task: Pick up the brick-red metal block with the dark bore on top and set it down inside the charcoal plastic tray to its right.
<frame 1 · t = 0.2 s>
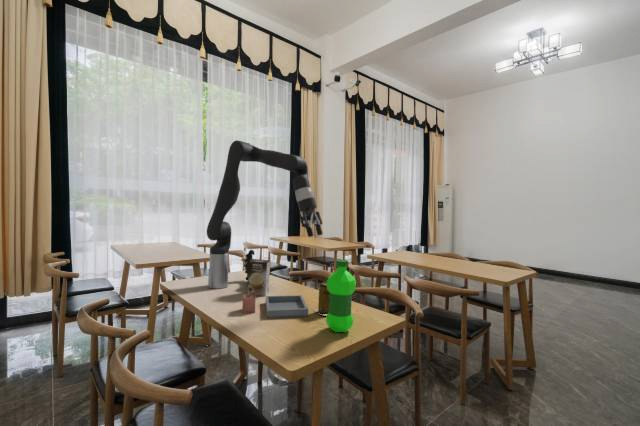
hand: (315, 235, 131), 31 cm above the table, tool tilted 20°, fingers open, 8 cm apart
coffee box: (258, 293, 149), on the table
plastic bottle: (339, 330, 110), on the table
toy figurine: (256, 285, 164), on the table
condiment: (326, 313, 127), on the table
tray: (285, 309, 129), on the table
red block: (248, 310, 126), on the table
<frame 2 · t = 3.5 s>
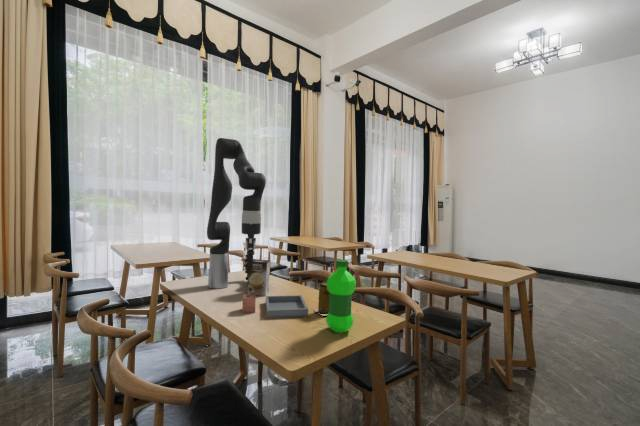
hand: (250, 261, 125), 20 cm above the table, tool pointing down, fingers open, 8 cm apart
nothing on the table moved.
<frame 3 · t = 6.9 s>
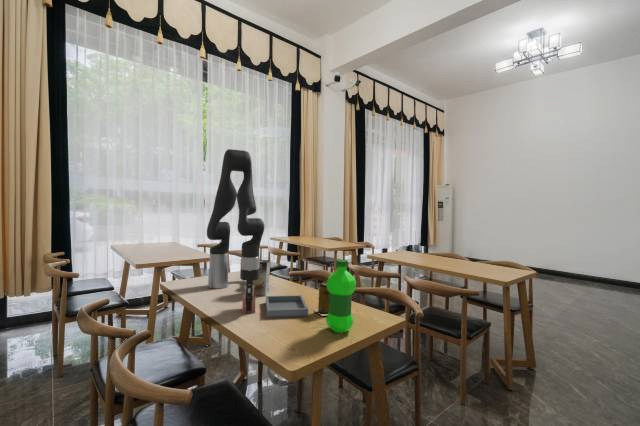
hand: (248, 308, 126), 1 cm above the table, tool pointing down, fingers closed on red block, 5 cm apart
red block: (248, 310, 126), on the table, touching gripper
everything else where it was.
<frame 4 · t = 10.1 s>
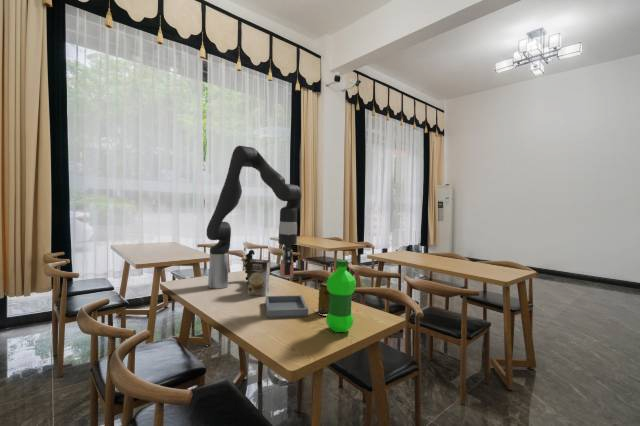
hand: (286, 273, 129), 15 cm above the table, tool pointing down, fingers closed on red block, 5 cm apart
red block: (286, 275, 129), point 14 cm above the table, touching gripper
everything else where it was.
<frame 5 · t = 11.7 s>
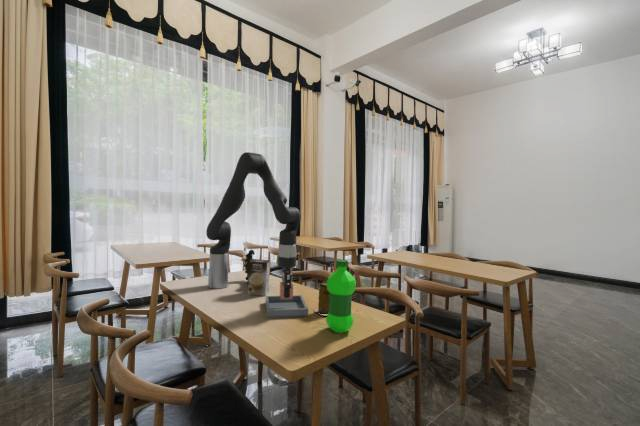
hand: (286, 295, 129), 6 cm above the table, tool pointing down, fingers closed on red block, 5 cm apart
red block: (286, 297, 129), point 5 cm above the table, touching gripper
everything else where it was.
when the fingers open (3 cm above the table, at t = 13.2 s): red block drops 1 cm, resting on tray.
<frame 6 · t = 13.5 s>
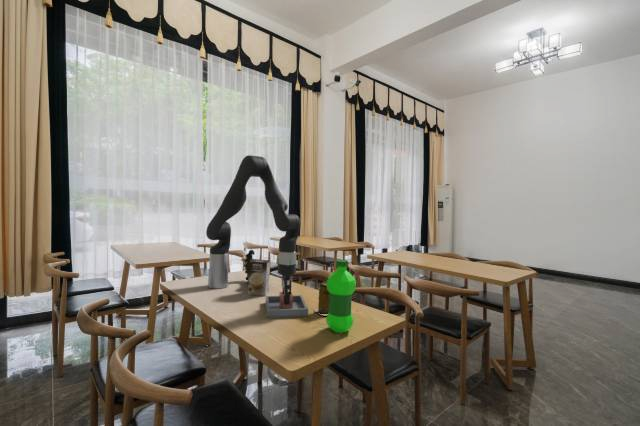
hand: (285, 300, 129), 4 cm above the table, tool pointing down, fingers open, 7 cm apart
red block: (285, 307, 129), point 1 cm above the table, touching tray
everything else where it was.
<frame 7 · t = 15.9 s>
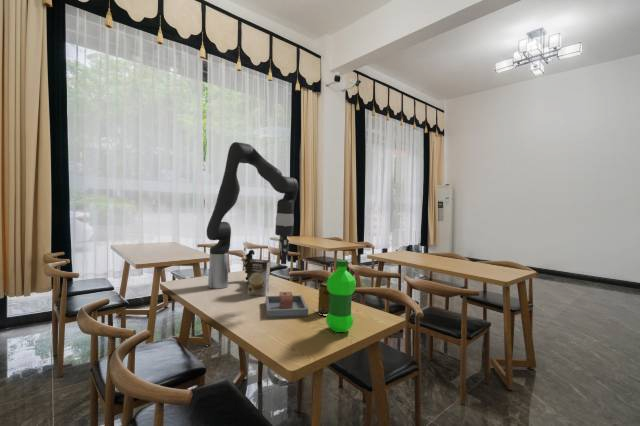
hand: (282, 261, 132), 19 cm above the table, tool pointing down, fingers open, 8 cm apart
nothing on the table moved.
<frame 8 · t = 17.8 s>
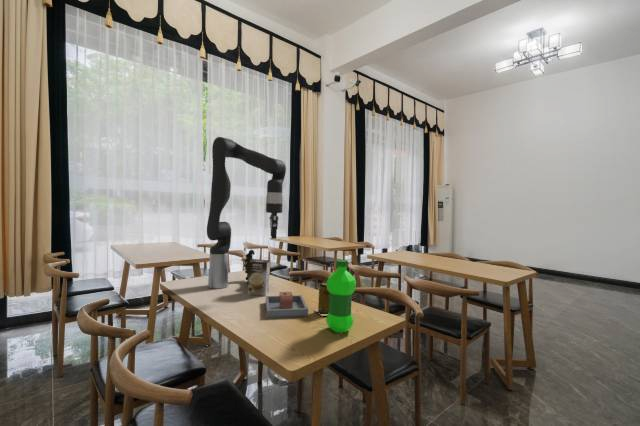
hand: (273, 237, 144), 28 cm above the table, tool pointing down, fingers open, 8 cm apart
nothing on the table moved.
at the end: red block inside the target area on the tray (0.1 cm from its centre), point 0.6 cm above the tray's base; red block tilted 0°; the gripper is holding nothing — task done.
